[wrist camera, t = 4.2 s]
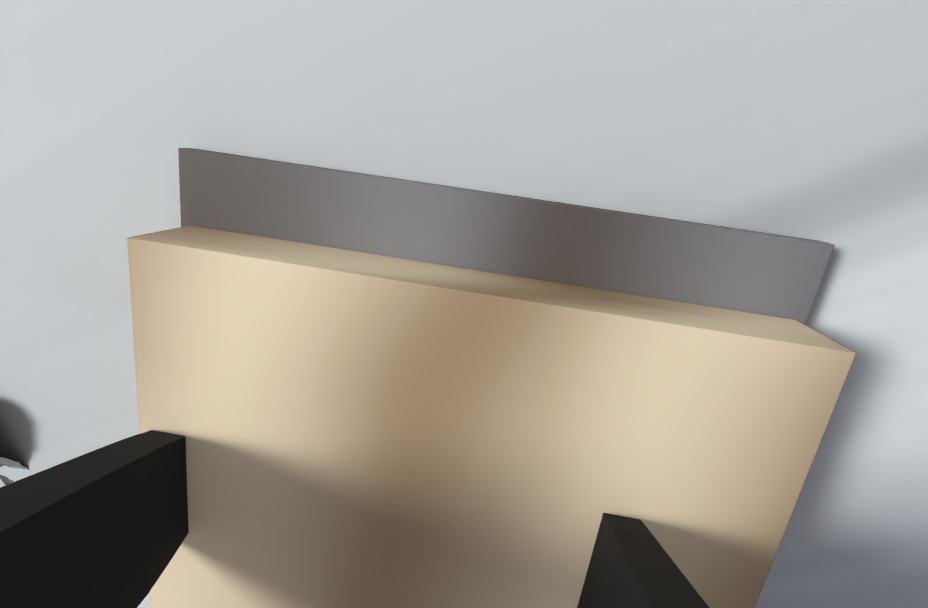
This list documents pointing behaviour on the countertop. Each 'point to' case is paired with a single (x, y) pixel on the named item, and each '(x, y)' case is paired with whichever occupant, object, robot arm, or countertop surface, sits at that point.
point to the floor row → (503, 234)
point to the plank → (458, 427)
